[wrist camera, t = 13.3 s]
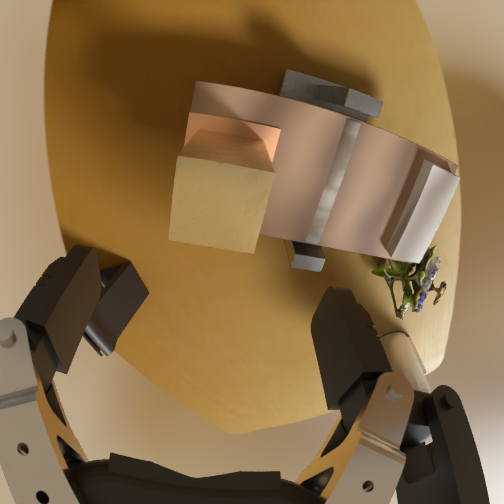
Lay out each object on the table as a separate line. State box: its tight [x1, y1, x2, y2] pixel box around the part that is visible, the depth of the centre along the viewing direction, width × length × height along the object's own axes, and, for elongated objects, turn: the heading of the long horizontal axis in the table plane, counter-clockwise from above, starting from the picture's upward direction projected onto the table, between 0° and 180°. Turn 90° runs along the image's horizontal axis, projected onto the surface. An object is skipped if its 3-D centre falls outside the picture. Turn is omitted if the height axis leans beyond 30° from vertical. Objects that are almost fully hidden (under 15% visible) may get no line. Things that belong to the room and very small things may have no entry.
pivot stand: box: [278, 69, 383, 272], centre depth 27 cm, size 10×18×11 cm, turn 168°
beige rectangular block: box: [169, 129, 275, 254], centre depth 19 cm, size 5×5×8 cm
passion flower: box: [372, 246, 446, 320], centre depth 38 cm, size 11×11×12 cm
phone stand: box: [83, 262, 149, 356], centre depth 36 cm, size 9×6×12 cm, turn 104°
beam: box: [184, 81, 460, 263], centre depth 24 cm, size 25×12×4 cm, turn 77°
